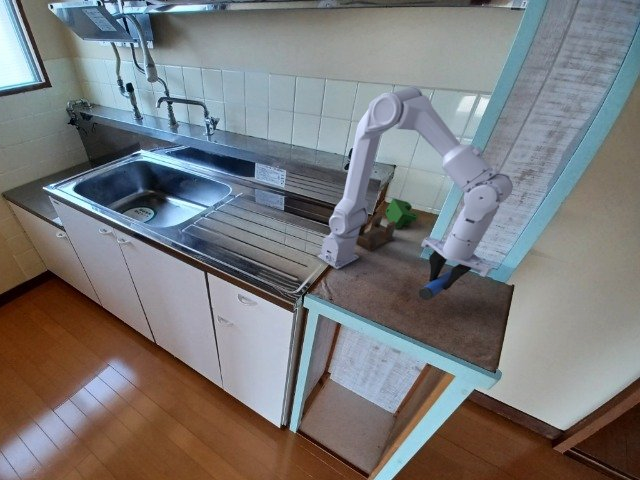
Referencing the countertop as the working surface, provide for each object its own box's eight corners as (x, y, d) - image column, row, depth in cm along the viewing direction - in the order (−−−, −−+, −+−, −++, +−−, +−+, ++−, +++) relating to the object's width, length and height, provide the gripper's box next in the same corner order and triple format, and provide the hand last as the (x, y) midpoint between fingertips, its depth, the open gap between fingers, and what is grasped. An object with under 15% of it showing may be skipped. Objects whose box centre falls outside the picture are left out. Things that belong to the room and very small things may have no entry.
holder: (369, 251, 99) (374, 234, 95) (351, 241, 103) (356, 224, 99) (391, 239, 104) (397, 222, 100) (373, 230, 108) (378, 214, 104)
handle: (427, 302, 75) (433, 294, 73) (416, 294, 76) (422, 285, 74) (455, 282, 80) (462, 274, 78) (444, 275, 81) (451, 266, 79)
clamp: (401, 238, 112) (419, 222, 104) (386, 234, 111) (402, 218, 103) (400, 210, 117) (417, 194, 108) (385, 206, 116) (401, 189, 108)
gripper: (512, 243, 65) (479, 293, 74) (443, 215, 74) (421, 263, 83) (495, 256, 62) (462, 306, 71) (425, 224, 71) (405, 273, 80)
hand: (439, 284), depth 77 cm, fingers closed on handle, 3 cm apart
